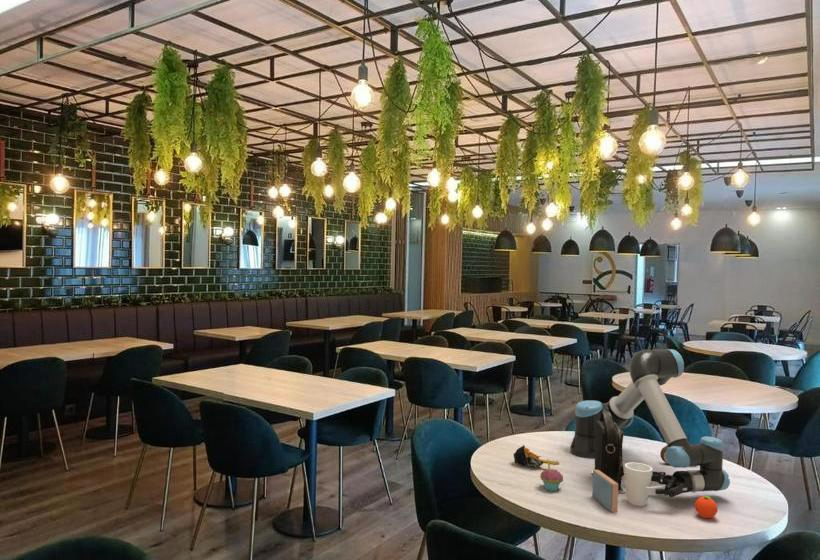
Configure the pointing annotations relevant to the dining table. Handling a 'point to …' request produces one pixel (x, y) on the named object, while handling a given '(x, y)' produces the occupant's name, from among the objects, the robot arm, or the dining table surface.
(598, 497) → the tile
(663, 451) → the tin
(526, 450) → the fried shrimp in bowl
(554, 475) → the cupcake
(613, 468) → the shoulder bag
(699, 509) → the clementine
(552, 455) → the dining table surface
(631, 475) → the foam cup
